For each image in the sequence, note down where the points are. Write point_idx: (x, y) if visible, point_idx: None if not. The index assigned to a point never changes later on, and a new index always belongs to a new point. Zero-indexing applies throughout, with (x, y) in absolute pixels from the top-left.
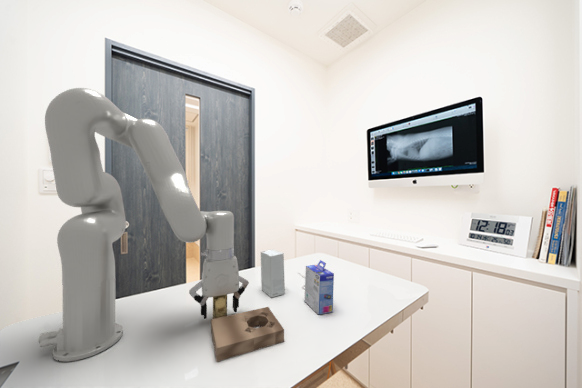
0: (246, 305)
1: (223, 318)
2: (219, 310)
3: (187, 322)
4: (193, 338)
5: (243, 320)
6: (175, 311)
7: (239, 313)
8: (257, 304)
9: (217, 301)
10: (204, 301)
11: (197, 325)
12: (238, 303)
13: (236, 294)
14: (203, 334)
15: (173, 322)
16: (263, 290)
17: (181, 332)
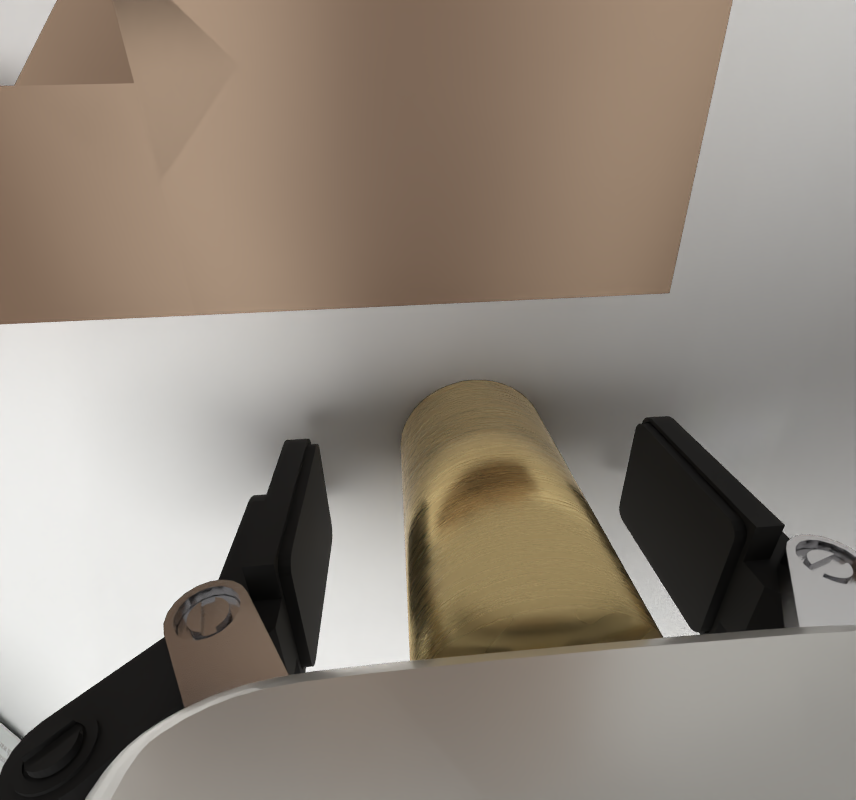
0: (188, 573)
1: (501, 250)
2: (521, 453)
3: (747, 473)
4: (797, 185)
5: (161, 22)
6: None
7: (239, 301)
8: (63, 562)
9: (596, 557)
10: (824, 584)
11: (690, 401)
12: (243, 529)
13: (229, 652)
14: (688, 219)
15: (838, 505)
16: (4, 740)
17: (846, 341)
